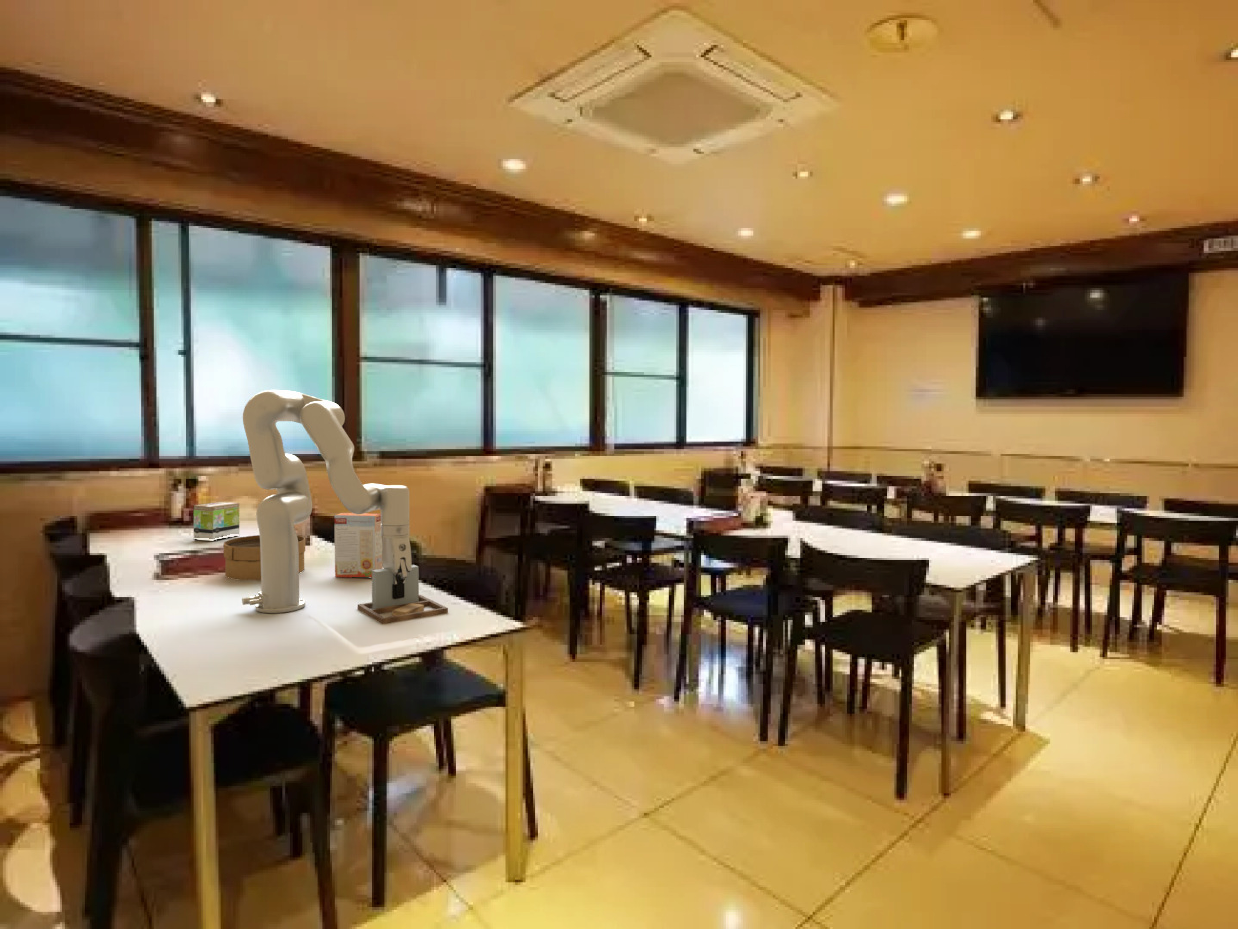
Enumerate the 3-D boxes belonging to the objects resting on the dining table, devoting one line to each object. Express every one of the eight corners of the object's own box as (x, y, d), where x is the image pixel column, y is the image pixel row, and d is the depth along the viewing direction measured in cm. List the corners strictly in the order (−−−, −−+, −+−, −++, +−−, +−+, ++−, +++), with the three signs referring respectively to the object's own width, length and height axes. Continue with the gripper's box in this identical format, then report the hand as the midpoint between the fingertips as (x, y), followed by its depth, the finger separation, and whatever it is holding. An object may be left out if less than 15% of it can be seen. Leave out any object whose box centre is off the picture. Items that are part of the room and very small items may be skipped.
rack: (382, 628, 186) (382, 619, 185) (357, 613, 199) (357, 604, 199) (447, 617, 197) (447, 608, 197) (420, 603, 210) (420, 594, 210)
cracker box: (383, 575, 246) (382, 513, 244) (375, 579, 240) (374, 515, 238) (343, 573, 247) (342, 511, 245) (334, 577, 241) (333, 514, 239)
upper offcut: (405, 619, 191) (405, 612, 190) (392, 617, 192) (392, 610, 192) (423, 611, 198) (423, 604, 198) (411, 609, 199) (411, 603, 199)
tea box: (213, 542, 300) (212, 506, 299) (193, 540, 302) (192, 505, 301) (240, 536, 315) (239, 502, 314) (220, 535, 317) (220, 501, 316)
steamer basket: (225, 583, 230) (225, 548, 229) (222, 569, 252) (221, 537, 251) (310, 576, 243) (310, 542, 242) (300, 563, 264) (299, 532, 264)
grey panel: (376, 616, 197) (376, 572, 196) (372, 613, 199) (371, 570, 198) (418, 609, 204) (418, 566, 203) (414, 607, 207) (414, 564, 206)
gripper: (420, 533, 196) (421, 601, 197) (396, 525, 209) (397, 589, 210) (393, 536, 191) (394, 605, 193) (370, 527, 204) (371, 593, 205)
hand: (395, 596), depth 201 cm, fingers closed on grey panel, 3 cm apart
